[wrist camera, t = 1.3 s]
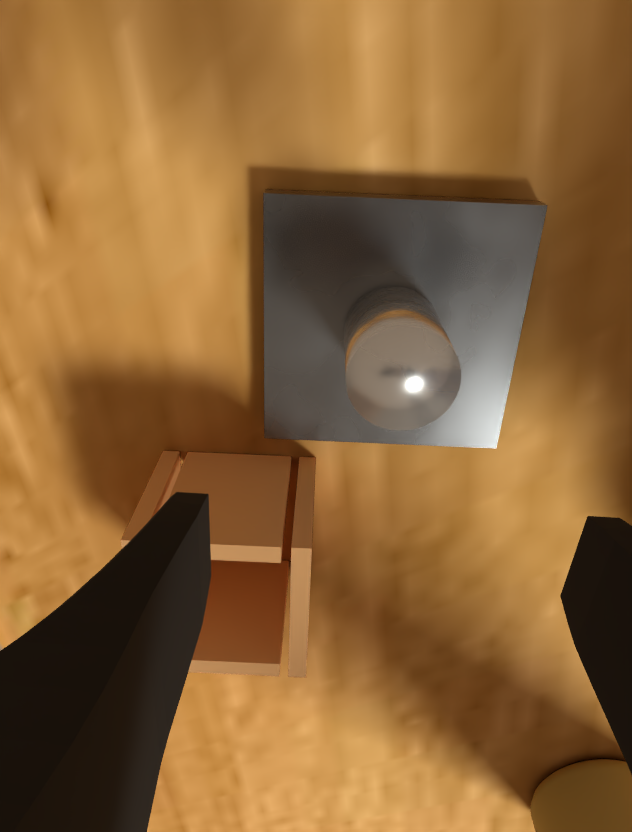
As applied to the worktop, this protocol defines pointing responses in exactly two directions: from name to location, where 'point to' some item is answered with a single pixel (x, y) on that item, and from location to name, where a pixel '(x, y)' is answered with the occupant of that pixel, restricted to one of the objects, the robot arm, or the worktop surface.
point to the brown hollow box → (244, 556)
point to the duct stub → (393, 315)
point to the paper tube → (585, 798)
